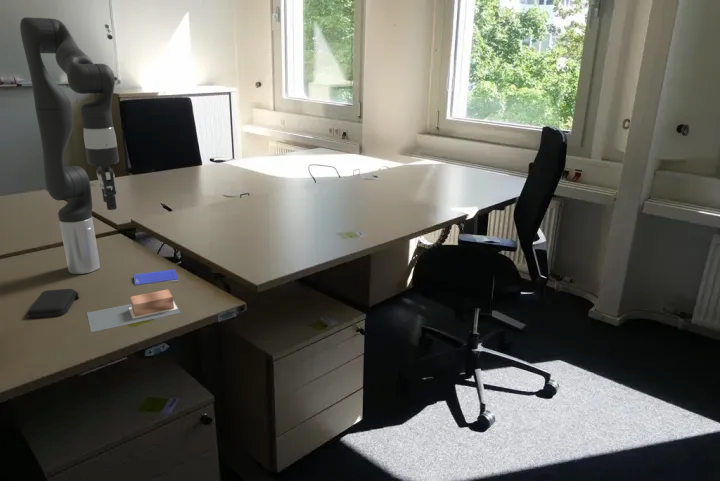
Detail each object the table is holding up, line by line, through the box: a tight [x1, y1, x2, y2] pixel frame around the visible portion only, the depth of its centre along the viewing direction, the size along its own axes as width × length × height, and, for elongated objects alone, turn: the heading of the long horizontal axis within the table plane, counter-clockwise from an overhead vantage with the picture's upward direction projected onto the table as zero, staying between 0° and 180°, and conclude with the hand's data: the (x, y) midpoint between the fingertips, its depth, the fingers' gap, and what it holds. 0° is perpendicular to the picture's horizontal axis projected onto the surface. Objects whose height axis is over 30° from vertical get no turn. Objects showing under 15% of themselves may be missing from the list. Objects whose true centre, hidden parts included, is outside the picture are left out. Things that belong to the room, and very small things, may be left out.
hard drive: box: [133, 268, 179, 286], centre depth 166 cm, size 2×8×12 cm
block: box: [130, 289, 174, 317], centre depth 145 cm, size 10×6×4 cm, turn 120°
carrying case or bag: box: [26, 288, 80, 319], centre depth 147 cm, size 11×3×15 cm
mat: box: [86, 299, 182, 333], centre depth 144 cm, size 12×22×1 cm, turn 120°
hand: (110, 205), depth 143 cm, fingers open, 8 cm apart
